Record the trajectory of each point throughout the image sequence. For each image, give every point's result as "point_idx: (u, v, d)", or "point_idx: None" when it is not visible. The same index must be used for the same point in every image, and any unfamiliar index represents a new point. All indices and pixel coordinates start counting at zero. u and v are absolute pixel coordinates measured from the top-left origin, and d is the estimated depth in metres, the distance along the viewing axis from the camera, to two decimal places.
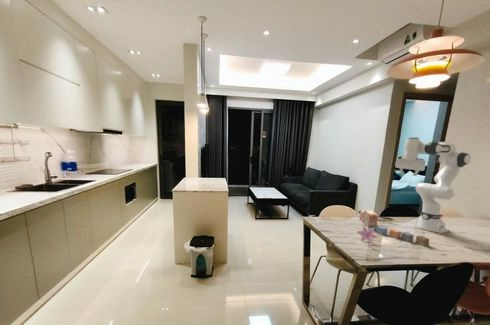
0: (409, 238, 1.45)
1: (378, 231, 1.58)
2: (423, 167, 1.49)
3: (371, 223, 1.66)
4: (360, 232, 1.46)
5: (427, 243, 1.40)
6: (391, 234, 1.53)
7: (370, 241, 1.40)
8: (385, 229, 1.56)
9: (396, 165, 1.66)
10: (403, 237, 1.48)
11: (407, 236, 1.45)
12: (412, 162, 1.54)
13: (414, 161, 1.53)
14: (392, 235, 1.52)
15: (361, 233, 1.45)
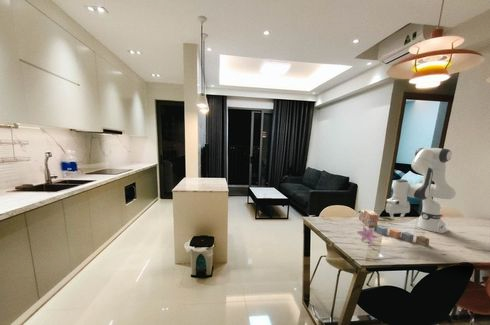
0: (409, 238, 1.45)
1: (378, 231, 1.58)
2: None
3: (372, 223, 1.66)
4: (360, 232, 1.46)
5: (427, 243, 1.40)
6: (391, 234, 1.53)
7: (370, 241, 1.40)
8: (385, 229, 1.56)
9: (391, 211, 1.46)
10: (403, 237, 1.48)
11: (407, 236, 1.45)
12: (403, 205, 1.49)
13: None
14: (392, 235, 1.52)
15: (361, 233, 1.45)
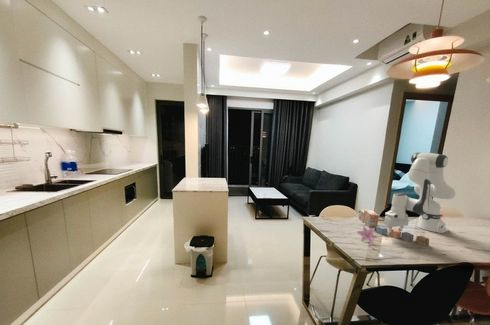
0: (409, 238, 1.45)
1: (378, 231, 1.58)
2: None
3: (372, 223, 1.67)
4: (360, 232, 1.45)
5: (427, 243, 1.40)
6: (391, 234, 1.53)
7: (370, 241, 1.40)
8: (385, 229, 1.56)
9: (390, 224, 1.47)
10: (403, 237, 1.48)
11: (407, 236, 1.45)
12: (402, 219, 1.50)
13: (403, 217, 1.50)
14: (392, 235, 1.52)
15: (361, 233, 1.45)
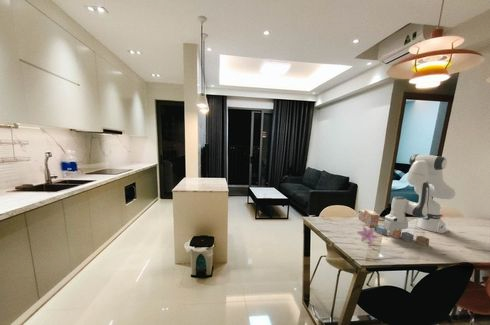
0: (409, 238, 1.45)
1: (378, 231, 1.58)
2: None
3: (373, 223, 1.67)
4: (360, 232, 1.45)
5: (427, 243, 1.40)
6: None
7: (370, 241, 1.39)
8: (385, 229, 1.56)
9: (389, 228, 1.48)
10: (403, 237, 1.48)
11: (407, 236, 1.45)
12: (401, 222, 1.51)
13: None
14: (392, 235, 1.52)
15: (361, 233, 1.45)
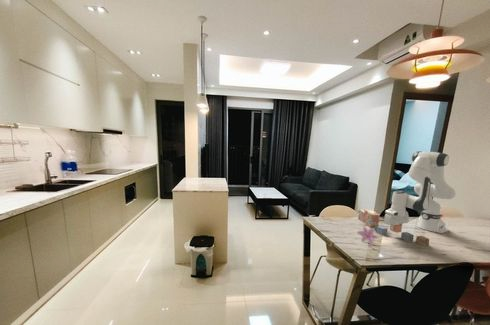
0: (409, 238, 1.45)
1: (378, 231, 1.58)
2: None
3: (373, 223, 1.67)
4: (360, 232, 1.45)
5: (427, 243, 1.40)
6: None
7: (371, 241, 1.39)
8: (385, 229, 1.56)
9: (390, 222, 1.48)
10: (403, 237, 1.48)
11: (407, 236, 1.45)
12: None
13: None
14: None
15: (361, 233, 1.45)
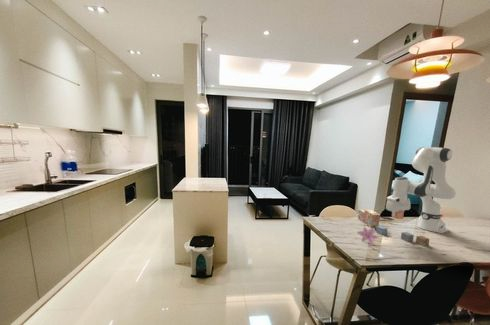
0: (409, 238, 1.45)
1: (378, 231, 1.58)
2: None
3: (374, 223, 1.67)
4: (361, 233, 1.45)
5: (427, 243, 1.40)
6: None
7: (371, 242, 1.39)
8: (385, 229, 1.56)
9: (391, 208, 1.47)
10: (403, 237, 1.48)
11: (407, 236, 1.45)
12: (404, 203, 1.49)
13: None
14: (394, 216, 1.51)
15: (362, 234, 1.44)
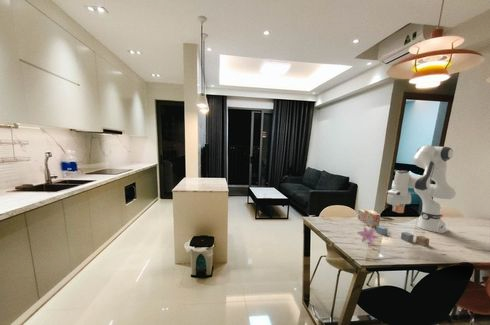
0: (409, 238, 1.45)
1: (378, 231, 1.58)
2: None
3: (374, 222, 1.67)
4: (361, 233, 1.45)
5: (427, 243, 1.40)
6: None
7: (371, 242, 1.39)
8: (385, 229, 1.56)
9: (392, 202, 1.46)
10: (403, 237, 1.48)
11: (407, 236, 1.45)
12: (405, 196, 1.49)
13: (406, 195, 1.49)
14: (395, 210, 1.50)
15: (362, 234, 1.44)
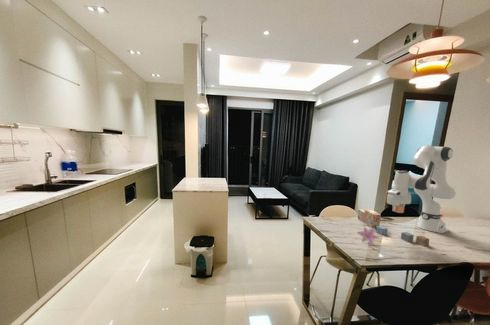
0: (409, 238, 1.45)
1: (378, 231, 1.58)
2: None
3: (375, 222, 1.67)
4: (361, 233, 1.45)
5: (427, 243, 1.40)
6: None
7: (371, 242, 1.39)
8: (385, 229, 1.56)
9: (392, 202, 1.46)
10: (403, 237, 1.48)
11: (407, 236, 1.45)
12: (405, 196, 1.49)
13: (406, 195, 1.49)
14: (395, 210, 1.50)
15: (362, 234, 1.44)
